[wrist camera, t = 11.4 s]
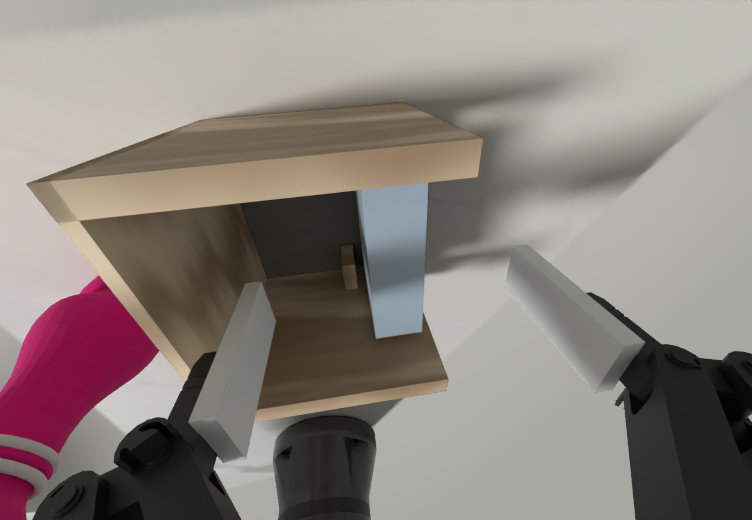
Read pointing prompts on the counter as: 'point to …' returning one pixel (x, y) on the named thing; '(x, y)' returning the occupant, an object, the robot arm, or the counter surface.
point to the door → (394, 255)
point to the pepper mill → (62, 386)
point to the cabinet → (238, 251)
